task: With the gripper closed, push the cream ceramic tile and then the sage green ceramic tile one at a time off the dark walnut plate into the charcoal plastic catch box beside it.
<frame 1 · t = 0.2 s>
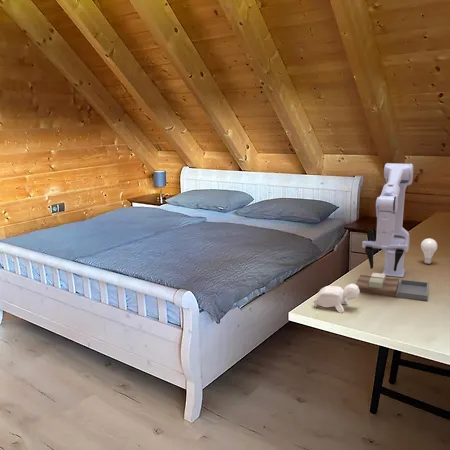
hand: (383, 269, 164), 10 cm above the table, tool pointing down, fingers open, 7 cm apart
tile cream: (378, 280, 176), point 2 cm above the table, touching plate
lightbulb: (427, 264, 201), on the table
catch box: (412, 292, 169), on the table
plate: (376, 288, 174), on the table
white turtle figurine: (336, 308, 158), on the table
tile green: (376, 285, 171), point 2 cm above the table, touching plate
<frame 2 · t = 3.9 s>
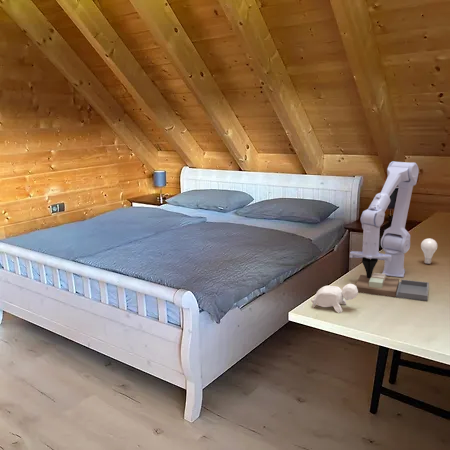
hand: (369, 277, 178), 3 cm above the table, tool pointing down, fingers closed
tile cream: (378, 280, 176), point 2 cm above the table, touching gripper, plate
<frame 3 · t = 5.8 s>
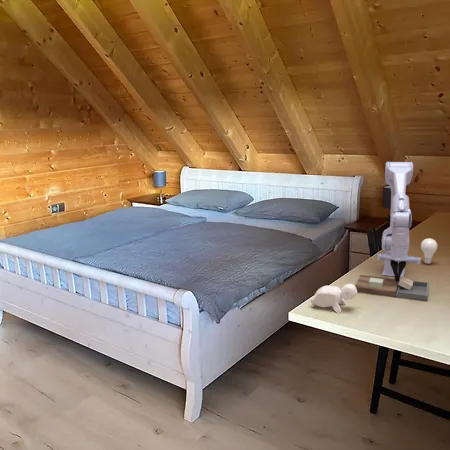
hand: (397, 280, 174), 3 cm above the table, tool pointing down, fingers closed
tile cream: (404, 285, 173), point 1 cm above the table, tilted 20°, touching gripper
everything else where it was.
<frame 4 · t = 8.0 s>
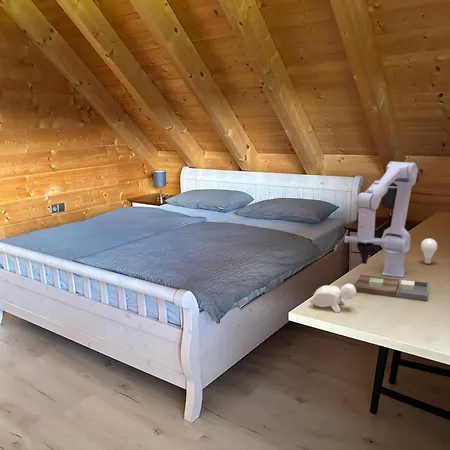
hand: (364, 263, 172), 10 cm above the table, tool pointing down, fingers closed
tile cream: (407, 287, 173), resting on catch box
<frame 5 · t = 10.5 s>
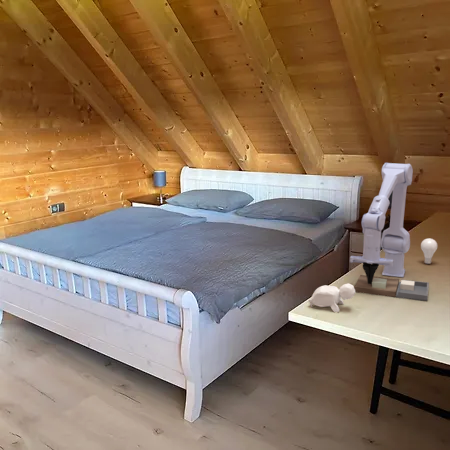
hand: (370, 283, 172), 3 cm above the table, tool pointing down, fingers closed
tile green: (379, 285, 171), point 2 cm above the table, touching gripper, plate
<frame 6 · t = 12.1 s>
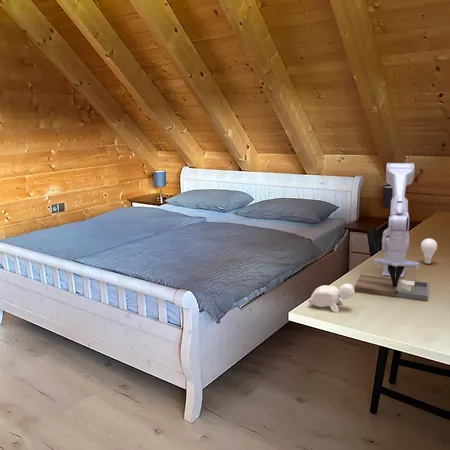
hand: (394, 285, 168), 3 cm above the table, tool pointing down, fingers closed
tile green: (402, 290, 168), point 1 cm above the table, tilted 22°, touching catch box, gripper
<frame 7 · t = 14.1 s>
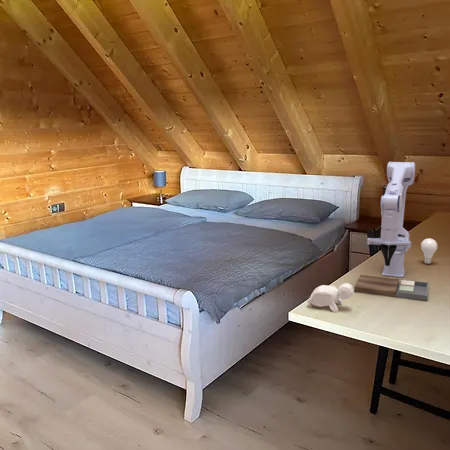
hand: (387, 265, 170), 9 cm above the table, tool pointing down, fingers closed
tile green: (406, 293, 167), resting on catch box
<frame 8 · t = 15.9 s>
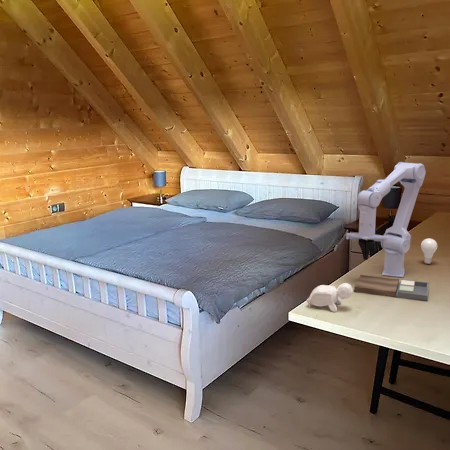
hand: (365, 259, 178), 9 cm above the table, tool pointing down, fingers closed
at the end: tile cream inside the target area on the catch box (3.6 cm from its centre), point 0.4 cm above the catch box's base; tile green inside the target area on the catch box (3.7 cm from its centre), point 0.4 cm above the catch box's base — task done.
